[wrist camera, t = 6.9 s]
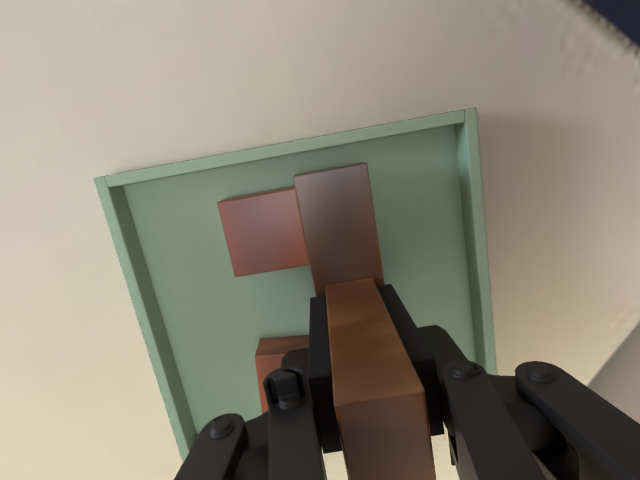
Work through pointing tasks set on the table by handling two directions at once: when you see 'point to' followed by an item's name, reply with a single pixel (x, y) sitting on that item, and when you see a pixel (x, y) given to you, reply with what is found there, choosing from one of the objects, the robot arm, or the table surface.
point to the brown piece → (362, 331)
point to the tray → (296, 283)
